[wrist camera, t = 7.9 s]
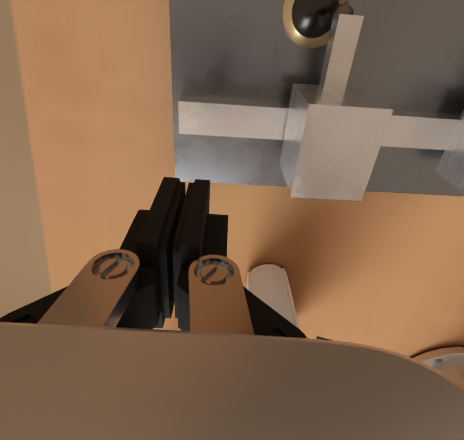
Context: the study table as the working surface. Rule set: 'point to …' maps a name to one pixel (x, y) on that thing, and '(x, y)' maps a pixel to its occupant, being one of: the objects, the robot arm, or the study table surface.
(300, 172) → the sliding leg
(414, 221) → the study table surface
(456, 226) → the study table surface
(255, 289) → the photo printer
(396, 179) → the base plate
